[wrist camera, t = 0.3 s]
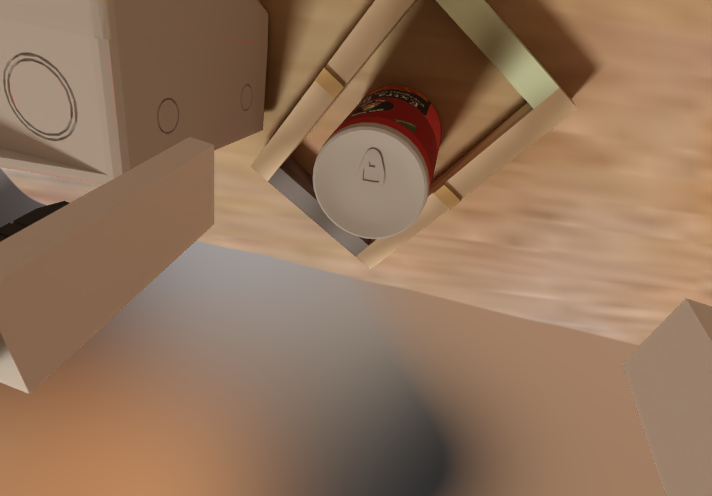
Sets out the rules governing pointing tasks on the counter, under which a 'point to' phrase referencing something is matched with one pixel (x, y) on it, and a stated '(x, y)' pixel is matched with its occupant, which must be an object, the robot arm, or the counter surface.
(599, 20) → the counter surface
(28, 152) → the electrical switch box
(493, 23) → the slot frame
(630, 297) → the counter surface
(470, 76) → the counter surface
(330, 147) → the canned food
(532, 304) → the counter surface
